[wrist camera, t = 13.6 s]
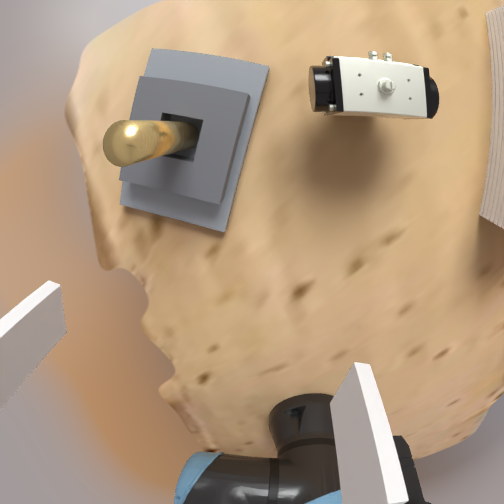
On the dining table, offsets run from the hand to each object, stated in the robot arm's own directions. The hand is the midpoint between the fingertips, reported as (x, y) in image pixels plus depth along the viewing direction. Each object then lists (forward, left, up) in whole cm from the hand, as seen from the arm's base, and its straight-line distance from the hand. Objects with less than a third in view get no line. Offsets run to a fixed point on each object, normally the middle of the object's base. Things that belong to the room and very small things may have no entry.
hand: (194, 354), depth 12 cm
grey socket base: (+6, +9, -26) cm, 28 cm away
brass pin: (+6, +9, -25) cm, 27 cm away
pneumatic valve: (+16, -8, -26) cm, 32 cm away
